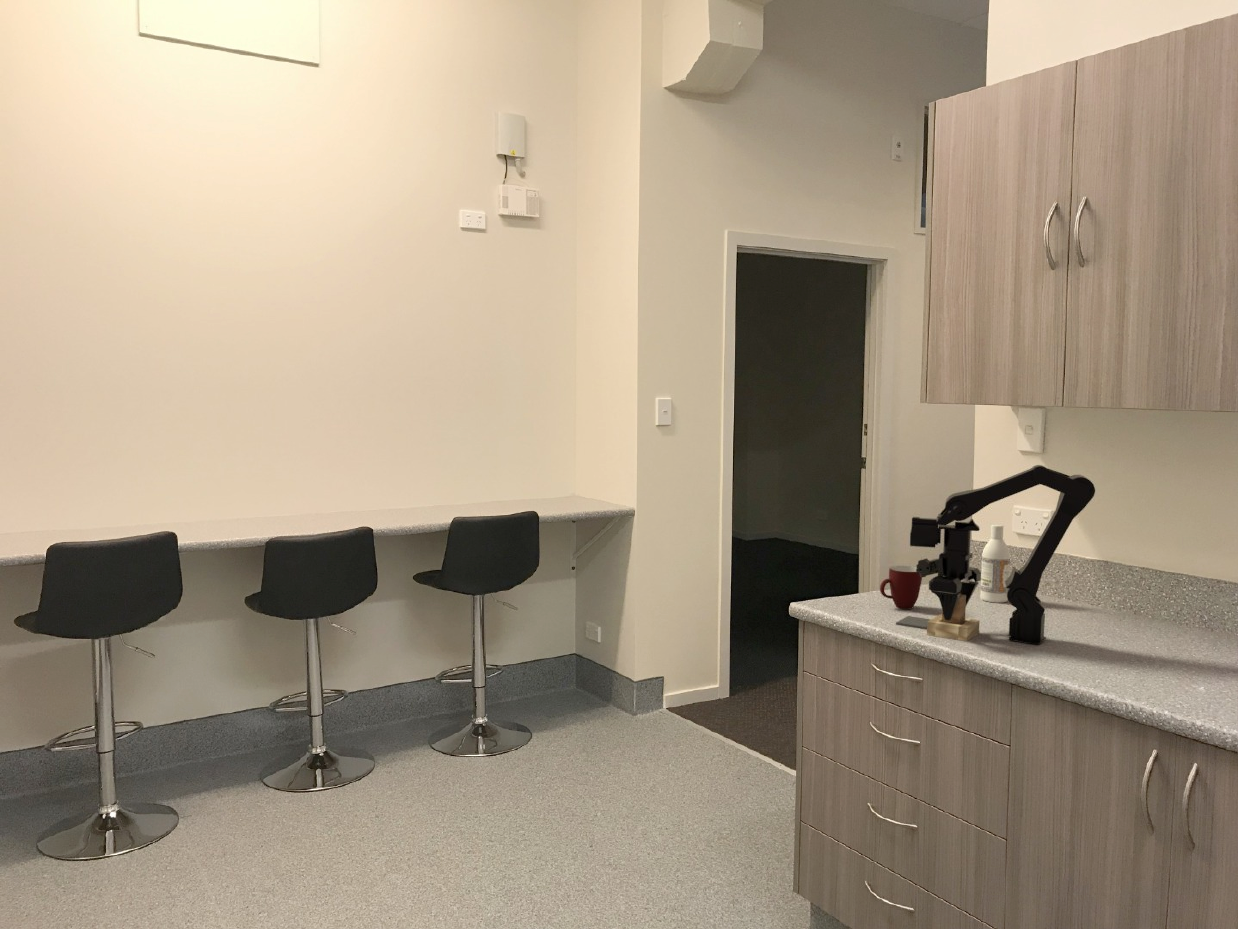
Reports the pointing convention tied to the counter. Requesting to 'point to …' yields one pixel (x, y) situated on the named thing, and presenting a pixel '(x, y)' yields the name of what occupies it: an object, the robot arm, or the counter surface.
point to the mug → (903, 586)
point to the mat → (914, 622)
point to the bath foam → (995, 567)
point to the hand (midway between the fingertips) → (954, 616)
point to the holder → (953, 629)
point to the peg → (958, 612)
